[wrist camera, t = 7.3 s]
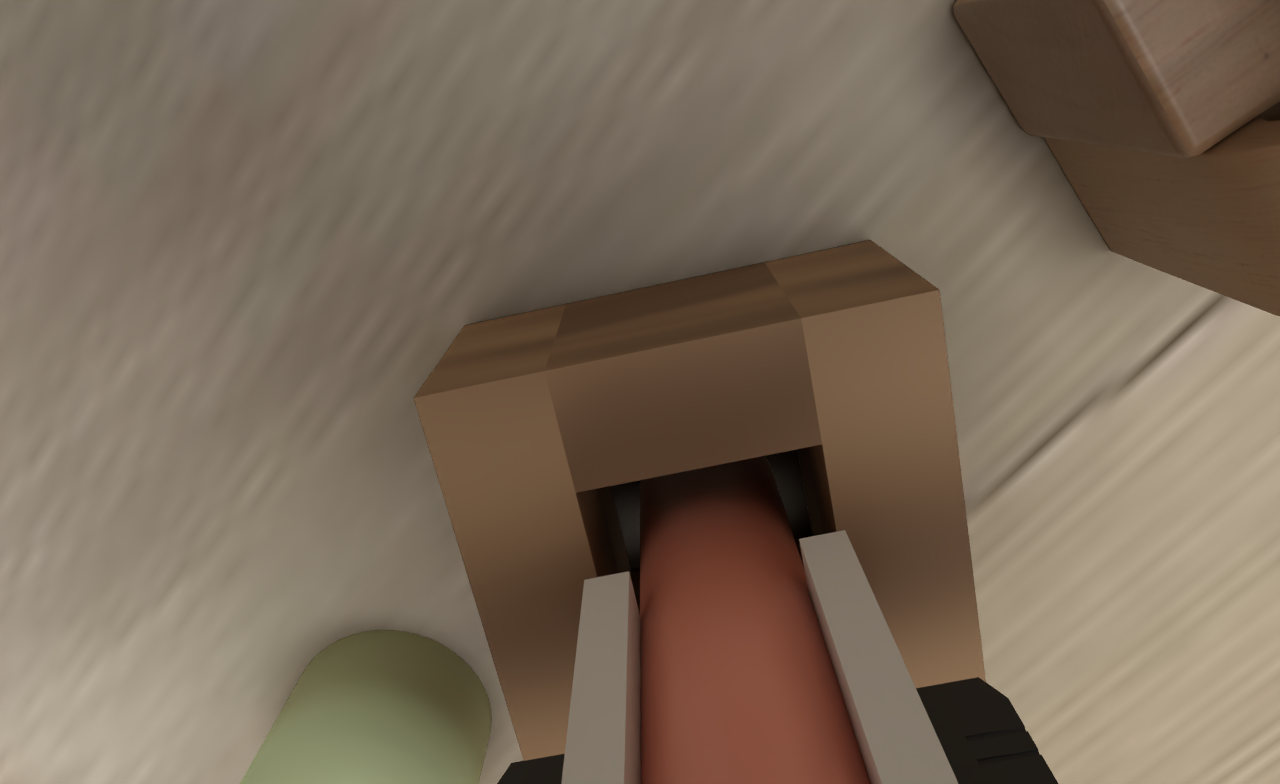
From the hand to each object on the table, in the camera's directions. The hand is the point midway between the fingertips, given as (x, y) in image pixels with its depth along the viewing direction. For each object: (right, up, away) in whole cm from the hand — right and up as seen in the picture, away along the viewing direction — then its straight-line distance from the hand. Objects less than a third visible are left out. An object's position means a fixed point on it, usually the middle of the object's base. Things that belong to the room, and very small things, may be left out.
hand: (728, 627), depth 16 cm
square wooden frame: (0, +2, +6) cm, 7 cm away
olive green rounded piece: (-8, -4, +9) cm, 12 cm away
